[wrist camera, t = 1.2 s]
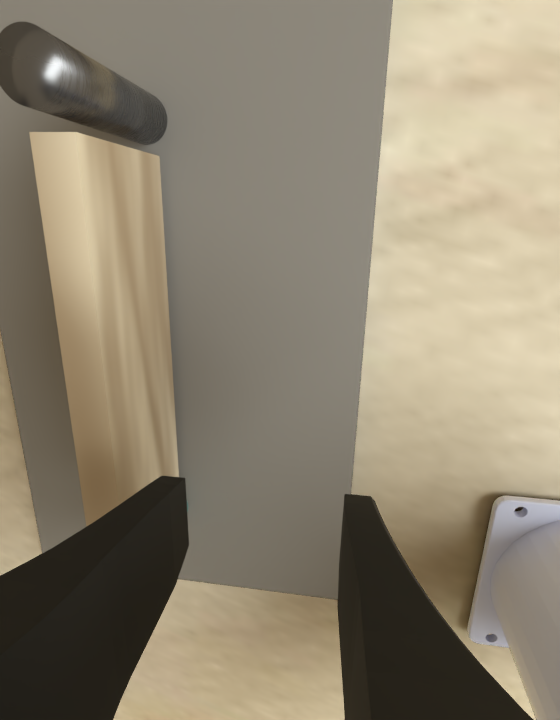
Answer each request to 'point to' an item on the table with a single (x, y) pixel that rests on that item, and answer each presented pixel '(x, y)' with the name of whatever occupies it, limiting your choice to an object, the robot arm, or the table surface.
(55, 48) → the hinge post
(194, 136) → the gate board
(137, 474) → the gate
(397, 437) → the table surface
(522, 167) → the table surface
